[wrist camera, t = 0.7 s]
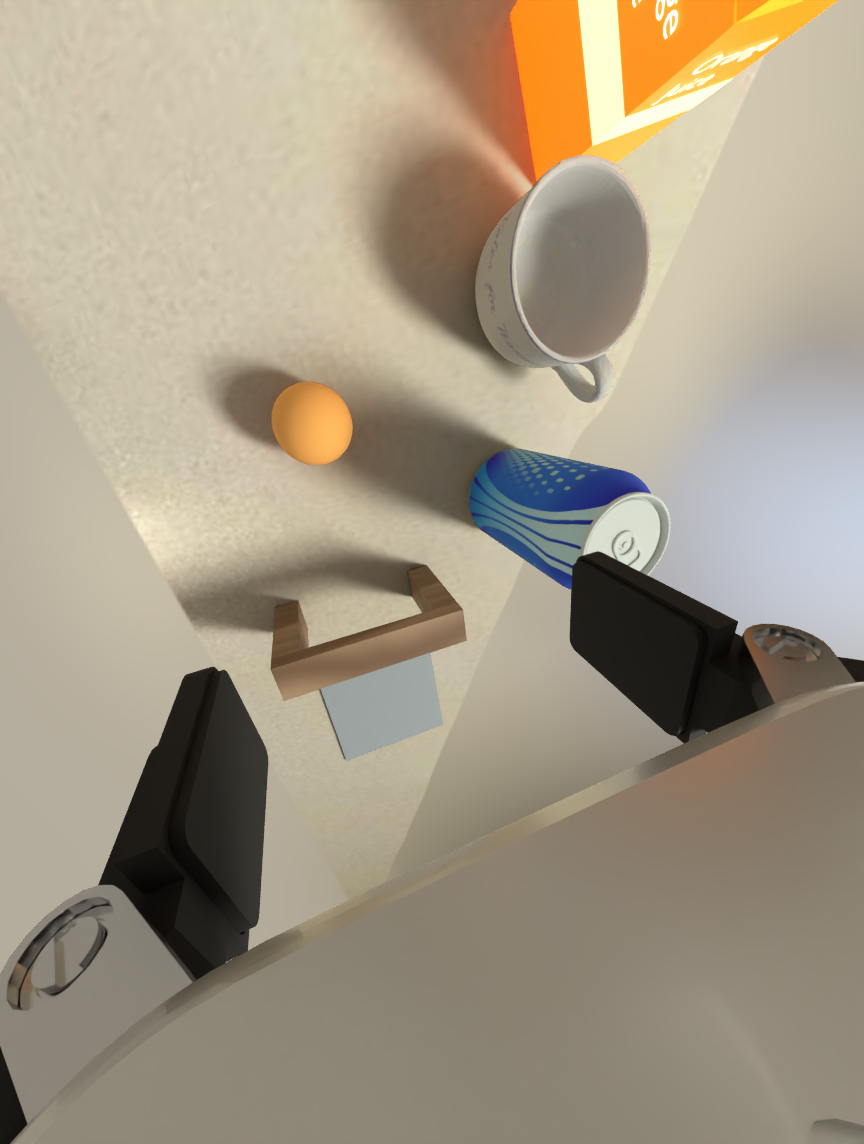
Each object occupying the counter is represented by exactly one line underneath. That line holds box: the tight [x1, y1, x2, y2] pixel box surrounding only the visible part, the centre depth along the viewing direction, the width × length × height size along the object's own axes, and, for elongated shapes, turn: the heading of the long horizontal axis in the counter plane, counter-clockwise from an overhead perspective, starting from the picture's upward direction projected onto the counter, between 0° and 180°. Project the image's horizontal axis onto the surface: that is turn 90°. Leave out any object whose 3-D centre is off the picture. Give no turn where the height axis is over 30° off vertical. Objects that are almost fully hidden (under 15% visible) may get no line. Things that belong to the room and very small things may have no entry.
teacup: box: [475, 155, 651, 403], centre depth 28 cm, size 14×11×8 cm
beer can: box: [469, 449, 670, 590], centre depth 30 cm, size 8×8×16 cm
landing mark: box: [321, 653, 443, 761], centre depth 43 cm, size 12×12×1 cm
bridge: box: [271, 566, 467, 701], centre depth 33 cm, size 3×14×9 cm, turn 98°
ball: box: [271, 382, 353, 465], centre depth 27 cm, size 6×6×6 cm
